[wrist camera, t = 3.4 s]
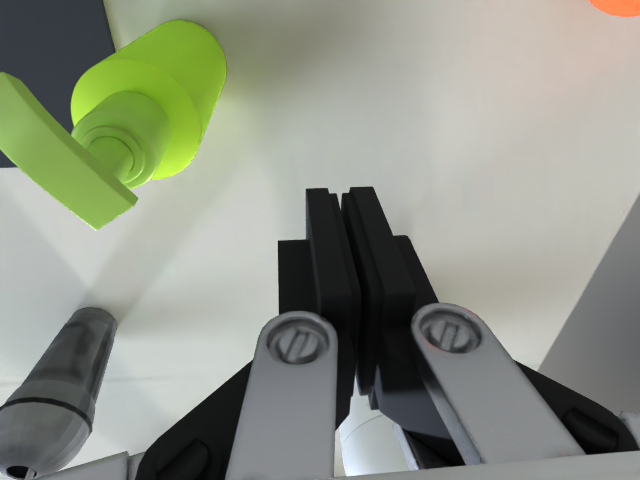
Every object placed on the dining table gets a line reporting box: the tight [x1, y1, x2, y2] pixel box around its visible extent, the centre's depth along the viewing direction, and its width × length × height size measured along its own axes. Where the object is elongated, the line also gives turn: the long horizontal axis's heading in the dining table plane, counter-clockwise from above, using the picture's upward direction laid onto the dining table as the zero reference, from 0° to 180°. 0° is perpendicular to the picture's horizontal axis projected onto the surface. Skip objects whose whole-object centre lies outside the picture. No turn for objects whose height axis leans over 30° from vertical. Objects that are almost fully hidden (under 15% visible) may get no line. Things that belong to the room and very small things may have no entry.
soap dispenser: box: [0, 20, 227, 230], centre depth 22 cm, size 6×7×20 cm
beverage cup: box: [0, 308, 117, 480], centre depth 36 cm, size 7×7×20 cm
